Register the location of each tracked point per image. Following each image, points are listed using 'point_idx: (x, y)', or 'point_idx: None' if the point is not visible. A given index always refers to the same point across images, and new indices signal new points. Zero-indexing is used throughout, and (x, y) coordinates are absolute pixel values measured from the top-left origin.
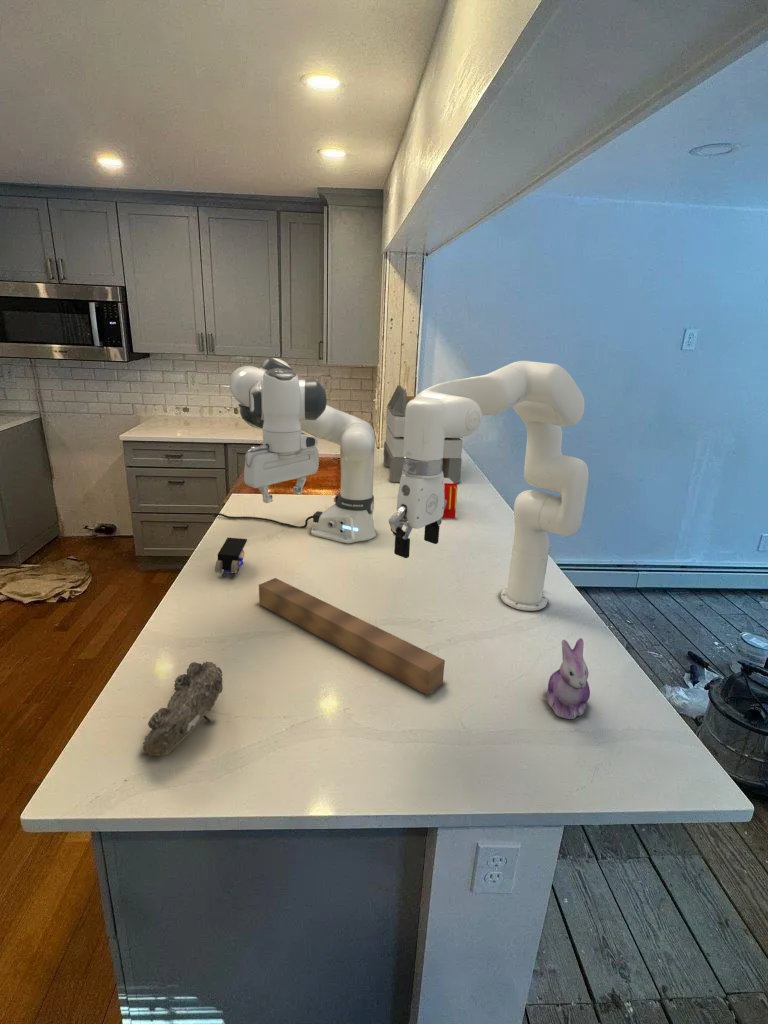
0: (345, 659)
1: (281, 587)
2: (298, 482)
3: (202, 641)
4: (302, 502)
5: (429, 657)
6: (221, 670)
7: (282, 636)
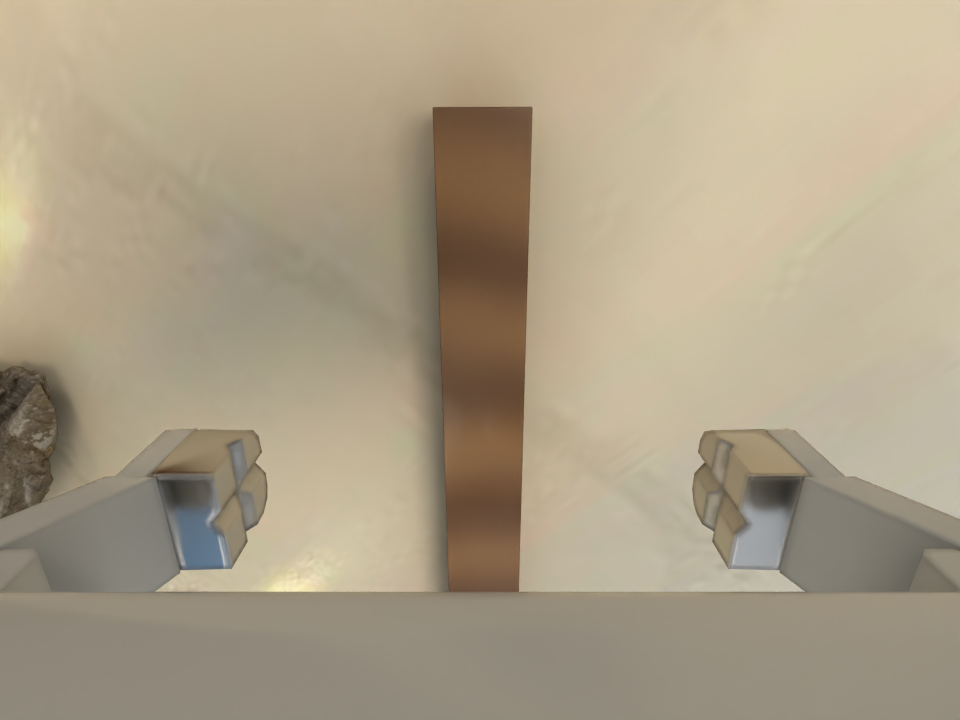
0: (425, 525)
1: (488, 205)
2: (866, 540)
3: (152, 181)
4: None
5: None
6: (48, 482)
7: (370, 340)
